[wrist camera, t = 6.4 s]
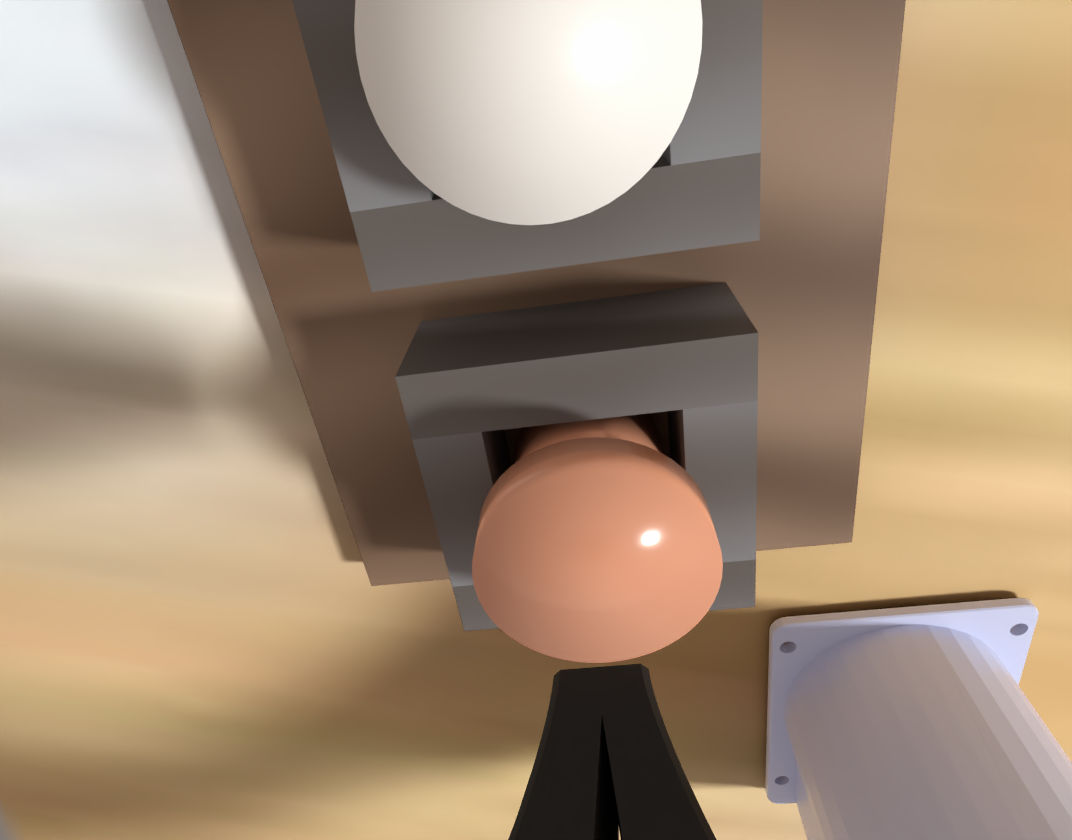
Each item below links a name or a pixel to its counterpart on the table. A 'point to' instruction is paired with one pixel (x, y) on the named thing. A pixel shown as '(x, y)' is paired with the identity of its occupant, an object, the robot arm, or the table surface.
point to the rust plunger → (595, 543)
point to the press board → (574, 281)
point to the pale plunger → (528, 96)
